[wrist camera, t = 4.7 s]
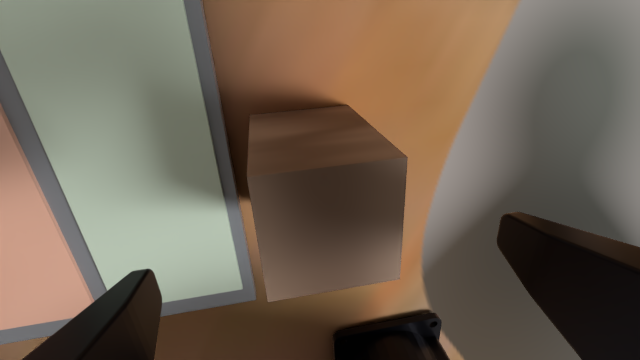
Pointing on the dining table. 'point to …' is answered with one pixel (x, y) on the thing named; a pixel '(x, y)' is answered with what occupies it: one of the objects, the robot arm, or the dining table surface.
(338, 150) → the block
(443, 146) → the dining table surface
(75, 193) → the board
